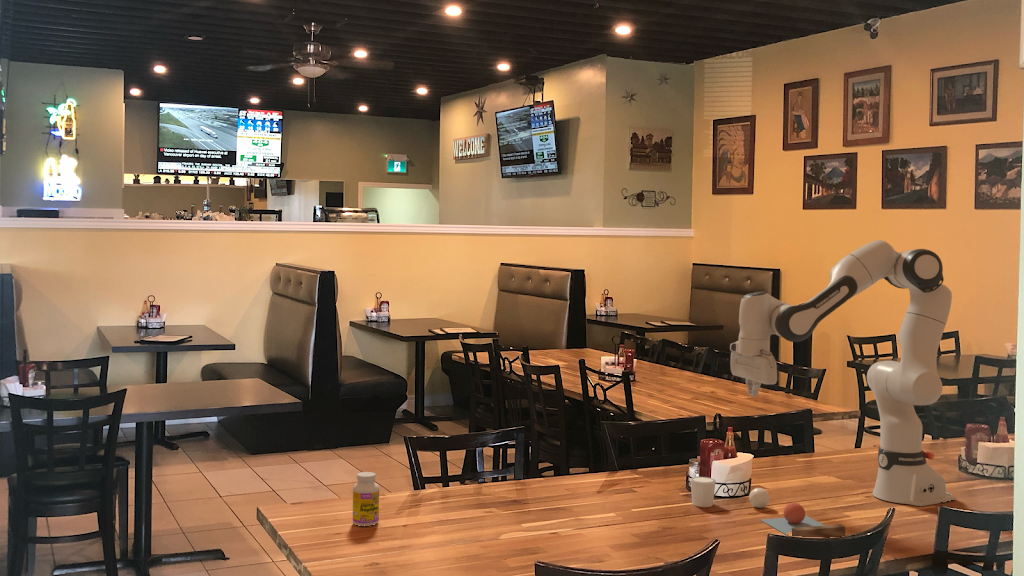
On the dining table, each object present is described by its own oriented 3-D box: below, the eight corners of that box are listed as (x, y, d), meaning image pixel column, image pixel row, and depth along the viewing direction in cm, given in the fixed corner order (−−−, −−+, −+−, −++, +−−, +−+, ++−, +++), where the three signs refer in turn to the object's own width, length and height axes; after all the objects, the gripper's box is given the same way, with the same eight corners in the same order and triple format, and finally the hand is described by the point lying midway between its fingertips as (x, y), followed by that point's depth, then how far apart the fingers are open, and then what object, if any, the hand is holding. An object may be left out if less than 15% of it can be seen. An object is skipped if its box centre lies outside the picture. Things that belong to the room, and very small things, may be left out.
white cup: (715, 508, 250) (715, 483, 250) (689, 506, 251) (690, 481, 251) (714, 501, 257) (715, 477, 256) (690, 499, 258) (690, 475, 258)
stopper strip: (840, 533, 230) (840, 524, 230) (845, 536, 228) (845, 526, 228) (791, 538, 226) (791, 528, 226) (795, 540, 224) (796, 530, 224)
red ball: (811, 509, 235) (806, 527, 237) (799, 497, 240) (794, 514, 242) (793, 511, 233) (789, 529, 235) (781, 499, 238) (777, 516, 240)
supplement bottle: (357, 529, 229) (357, 478, 228) (349, 521, 235) (349, 472, 234) (382, 525, 232) (382, 475, 231) (374, 518, 238) (374, 469, 237)
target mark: (806, 516, 244) (806, 515, 244) (838, 533, 230) (838, 532, 230) (760, 520, 240) (760, 519, 240) (790, 537, 226) (790, 536, 226)
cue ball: (769, 485, 250) (774, 505, 249) (762, 485, 255) (767, 504, 254) (750, 490, 249) (756, 510, 248) (744, 490, 254) (749, 509, 253)
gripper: (783, 352, 254) (782, 401, 255) (745, 343, 274) (744, 389, 275) (763, 352, 253) (762, 402, 253) (726, 344, 272) (725, 390, 273)
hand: (752, 395), depth 264 cm, fingers closed
